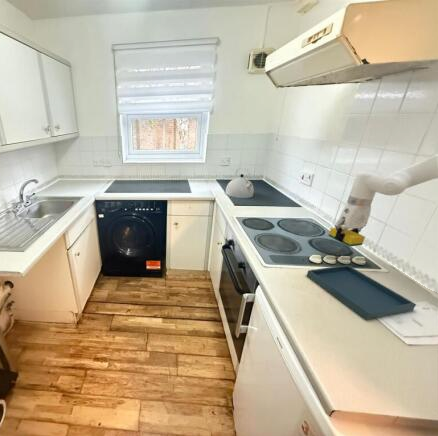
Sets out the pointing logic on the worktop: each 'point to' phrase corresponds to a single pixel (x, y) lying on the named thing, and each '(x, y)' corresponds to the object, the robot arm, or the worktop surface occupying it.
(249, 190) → the kettle
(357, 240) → the sponge
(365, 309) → the tray
